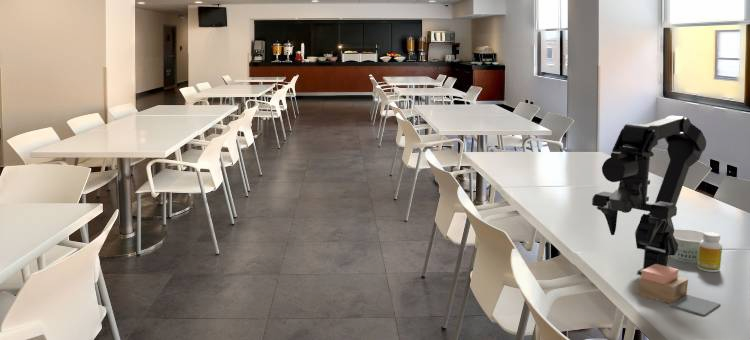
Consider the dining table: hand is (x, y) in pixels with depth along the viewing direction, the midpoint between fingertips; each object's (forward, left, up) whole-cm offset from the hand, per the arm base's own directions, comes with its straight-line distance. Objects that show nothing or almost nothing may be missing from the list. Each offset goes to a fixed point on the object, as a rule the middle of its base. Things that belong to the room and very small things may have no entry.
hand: (630, 238), depth 159 cm
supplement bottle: (-27, +9, -12) cm, 31 cm away
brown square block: (0, +9, -12) cm, 15 cm away
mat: (+1, +17, -12) cm, 21 cm away
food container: (-33, +1, -12) cm, 36 cm away
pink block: (0, +8, -8) cm, 11 cm away
